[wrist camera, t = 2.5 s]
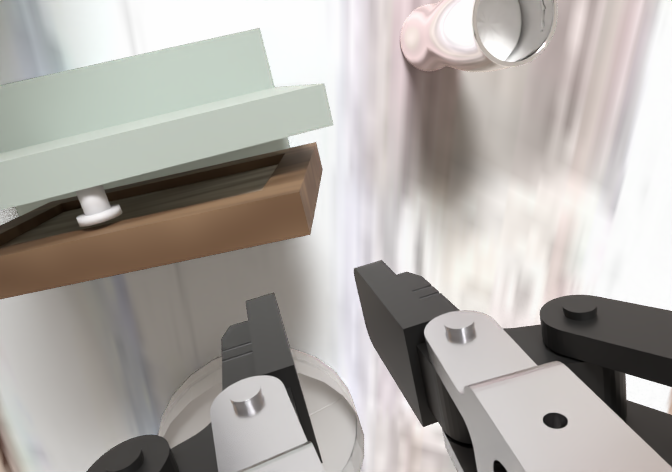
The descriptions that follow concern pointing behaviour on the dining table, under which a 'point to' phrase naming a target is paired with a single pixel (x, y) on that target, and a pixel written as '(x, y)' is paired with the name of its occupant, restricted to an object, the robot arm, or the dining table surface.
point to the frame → (164, 221)
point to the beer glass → (478, 34)
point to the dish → (320, 396)
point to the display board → (145, 121)
